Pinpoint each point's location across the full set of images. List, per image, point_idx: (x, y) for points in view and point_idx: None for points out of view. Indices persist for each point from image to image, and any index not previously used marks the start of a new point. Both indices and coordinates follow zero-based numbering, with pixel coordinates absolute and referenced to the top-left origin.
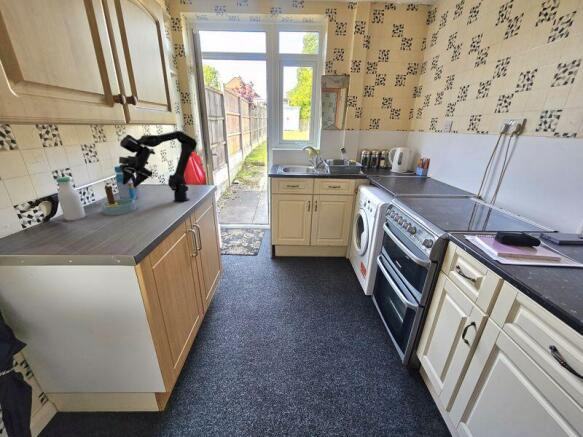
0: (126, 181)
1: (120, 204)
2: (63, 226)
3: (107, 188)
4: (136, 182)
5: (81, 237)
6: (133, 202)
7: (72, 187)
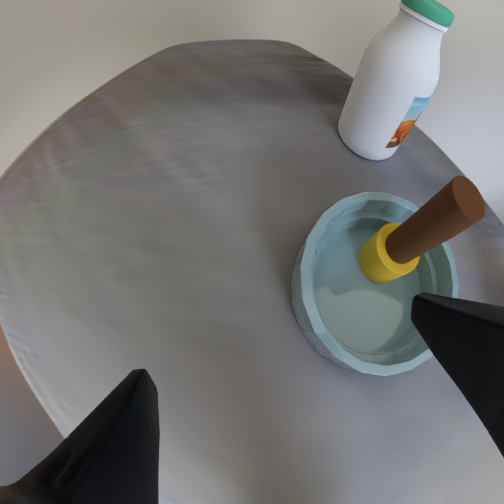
0: (444, 349)
1: None
2: (292, 99)
3: (447, 190)
4: (101, 425)
5: (134, 123)
6: (339, 359)
7: (413, 44)
